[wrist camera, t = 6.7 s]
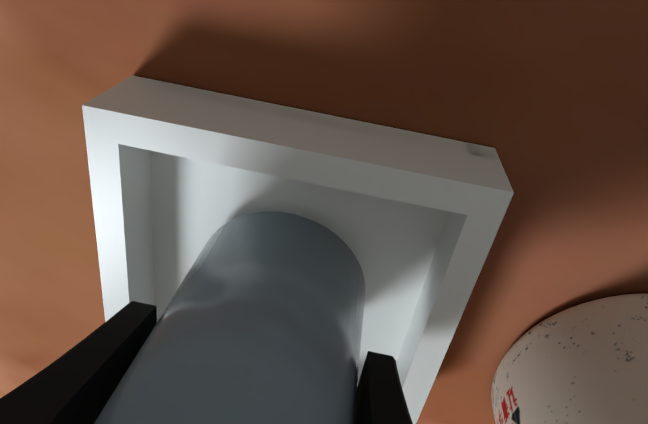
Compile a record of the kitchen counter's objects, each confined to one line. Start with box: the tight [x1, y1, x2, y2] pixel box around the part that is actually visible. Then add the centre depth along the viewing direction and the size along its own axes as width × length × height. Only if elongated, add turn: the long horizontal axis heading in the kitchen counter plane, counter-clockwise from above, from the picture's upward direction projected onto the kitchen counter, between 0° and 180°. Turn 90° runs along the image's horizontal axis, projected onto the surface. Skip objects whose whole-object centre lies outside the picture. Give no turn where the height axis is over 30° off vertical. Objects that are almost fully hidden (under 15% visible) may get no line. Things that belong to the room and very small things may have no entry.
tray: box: [82, 75, 514, 424], centre depth 15 cm, size 10×10×2 cm
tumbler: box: [94, 211, 365, 424], centre depth 11 cm, size 5×5×7 cm
